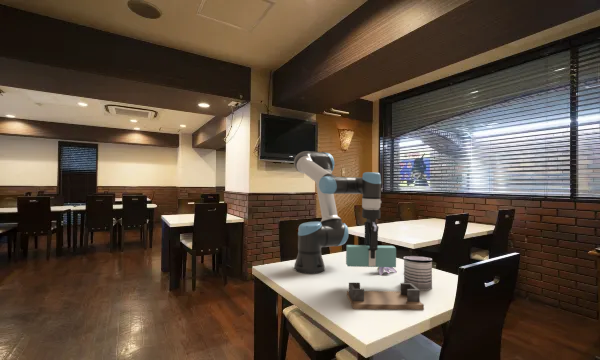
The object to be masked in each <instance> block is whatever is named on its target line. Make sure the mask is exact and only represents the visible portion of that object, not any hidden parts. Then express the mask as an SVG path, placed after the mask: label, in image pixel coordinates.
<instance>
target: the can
mask: <svg viewBox="0 0 600 360" xmlns="http://www.w3.org/2000/svg"><path fill="white" fill-rule="evenodd" d="M432 261H433V258H431V257H426V256H418V255H417V256H416V255H410V256H409V255H407V256H405V255H404V256H403V283H412V284H413V285H414V286H415V287H416V288H418V289H419V290H420V291H430V290H432V289H433V262H432Z"/></svg>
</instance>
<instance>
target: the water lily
mask: <svg viewBox="0 0 600 360" xmlns="http://www.w3.org/2000/svg"><path fill="white" fill-rule="evenodd" d="M377 270H378V274H379V275H380V276H382V275H383V274H384V271H385V272H386V273H388V274H390V272H392V273H394V274H396V273H397V270H396V269H395V267H377Z"/></svg>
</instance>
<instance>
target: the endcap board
mask: <svg viewBox="0 0 600 360" xmlns="http://www.w3.org/2000/svg"><path fill="white" fill-rule="evenodd" d="M399 285H400V290H398V291H397V290H396V291H394V290H393V291H390V290H389V291H388V290H387V291H386V290H382V291H381V290H380V291H379V290H374V291H373V290H372V291H371V290H365V289H364V288H361V283H360V282H348V290H346V296H347V299H348V301H349V303H350V305H351V307H352V309H355V310H357V309H358V310H424V309H425V307H424V306H425V305H424V303H422V302H421V300H420V299H421V297H420V293H421V292H420V291H421V290H419V289H418V288H416V287H415V286H414V285H413V284H412V283H404V282H400V284H399Z"/></svg>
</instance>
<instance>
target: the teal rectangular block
mask: <svg viewBox="0 0 600 360" xmlns="http://www.w3.org/2000/svg"><path fill="white" fill-rule="evenodd" d="M345 248H346V253H345V254H346V255H345V264H346V265H347V267H354V268H355V267H356V268H358V267H359V268H360V267H361V268H362V267H364V268H367V267H368V268H370V267H371V268H378V267H393V268H397V248H396V247H395V246H394V245H378V250H376V266H369V250H368V249H369V248H370V247H369V245H366V244H360V245H359V244H346V247H345Z"/></svg>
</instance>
